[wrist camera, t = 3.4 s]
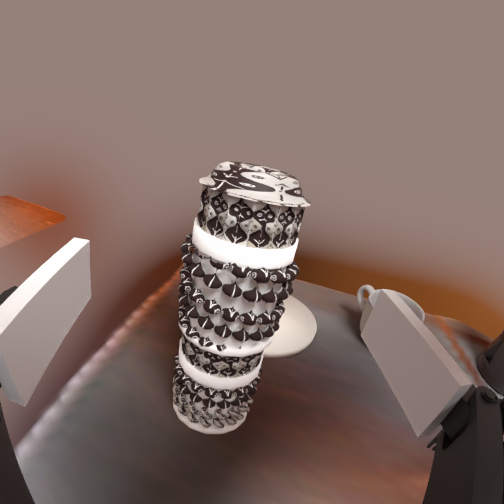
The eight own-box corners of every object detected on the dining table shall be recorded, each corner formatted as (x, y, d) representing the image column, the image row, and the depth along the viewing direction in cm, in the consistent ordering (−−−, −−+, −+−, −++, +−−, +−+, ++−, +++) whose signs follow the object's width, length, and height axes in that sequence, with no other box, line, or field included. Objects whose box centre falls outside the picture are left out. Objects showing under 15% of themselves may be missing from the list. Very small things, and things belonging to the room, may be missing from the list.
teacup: (415, 355, 45) (436, 318, 42) (375, 366, 41) (397, 325, 38) (373, 313, 57) (388, 279, 54) (333, 316, 53) (347, 279, 50)
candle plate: (335, 349, 43) (338, 344, 43) (216, 363, 36) (218, 357, 35) (285, 288, 59) (286, 283, 59) (191, 287, 52) (191, 281, 51)
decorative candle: (160, 427, 25) (179, 161, 16) (178, 368, 33) (207, 153, 24) (249, 444, 25) (338, 195, 16) (251, 382, 34) (311, 175, 25)
